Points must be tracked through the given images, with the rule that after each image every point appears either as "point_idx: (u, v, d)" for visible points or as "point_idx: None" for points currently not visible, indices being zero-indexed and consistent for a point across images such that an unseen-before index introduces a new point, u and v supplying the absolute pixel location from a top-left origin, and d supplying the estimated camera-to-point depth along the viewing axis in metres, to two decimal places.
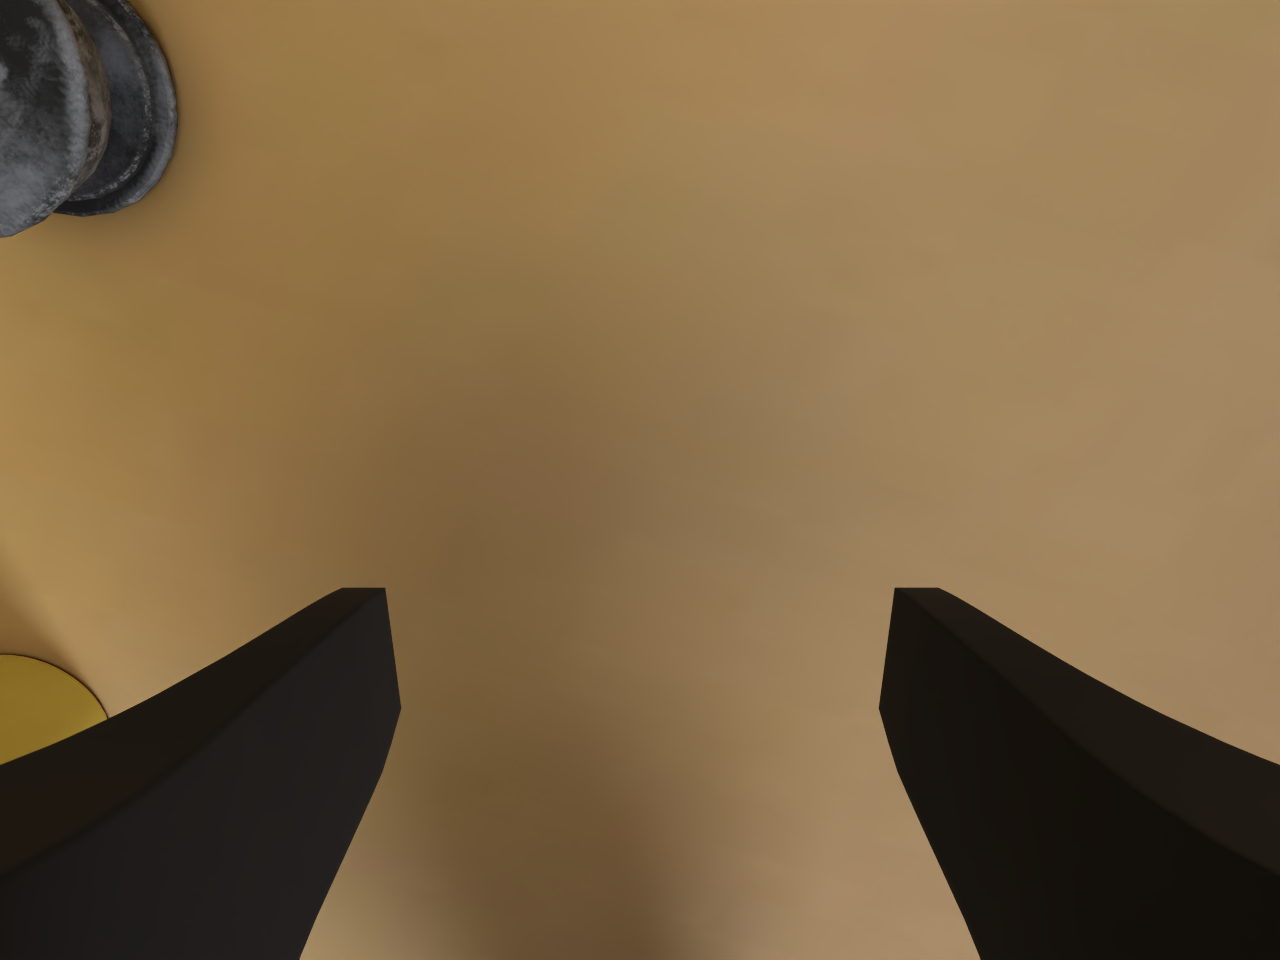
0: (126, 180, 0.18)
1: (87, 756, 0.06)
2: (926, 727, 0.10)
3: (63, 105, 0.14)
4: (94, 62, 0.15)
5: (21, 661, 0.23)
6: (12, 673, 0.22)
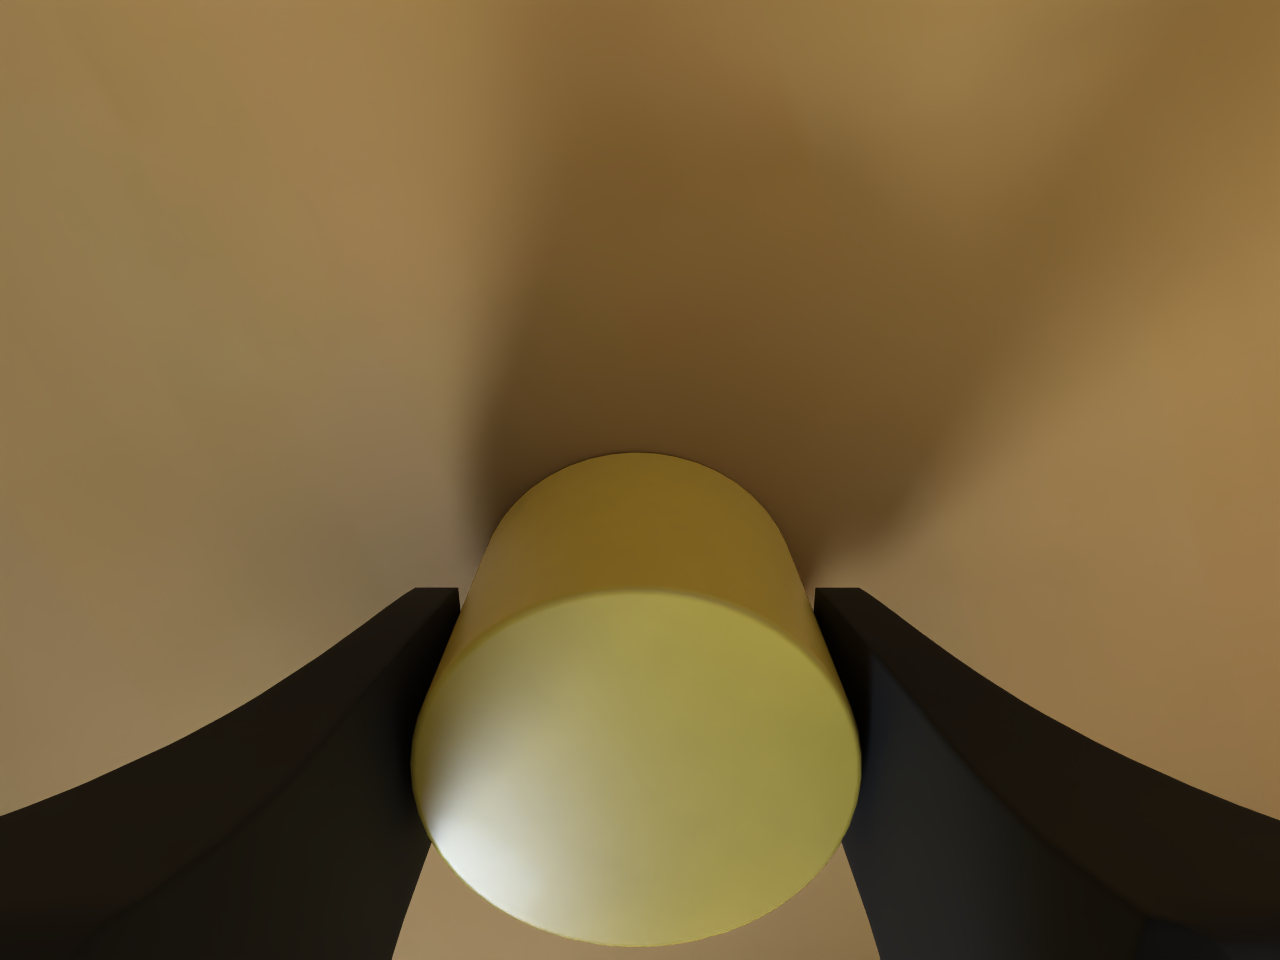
0: None
1: (209, 756, 0.06)
2: None
3: None
4: None
5: (781, 535, 0.12)
6: (791, 559, 0.11)
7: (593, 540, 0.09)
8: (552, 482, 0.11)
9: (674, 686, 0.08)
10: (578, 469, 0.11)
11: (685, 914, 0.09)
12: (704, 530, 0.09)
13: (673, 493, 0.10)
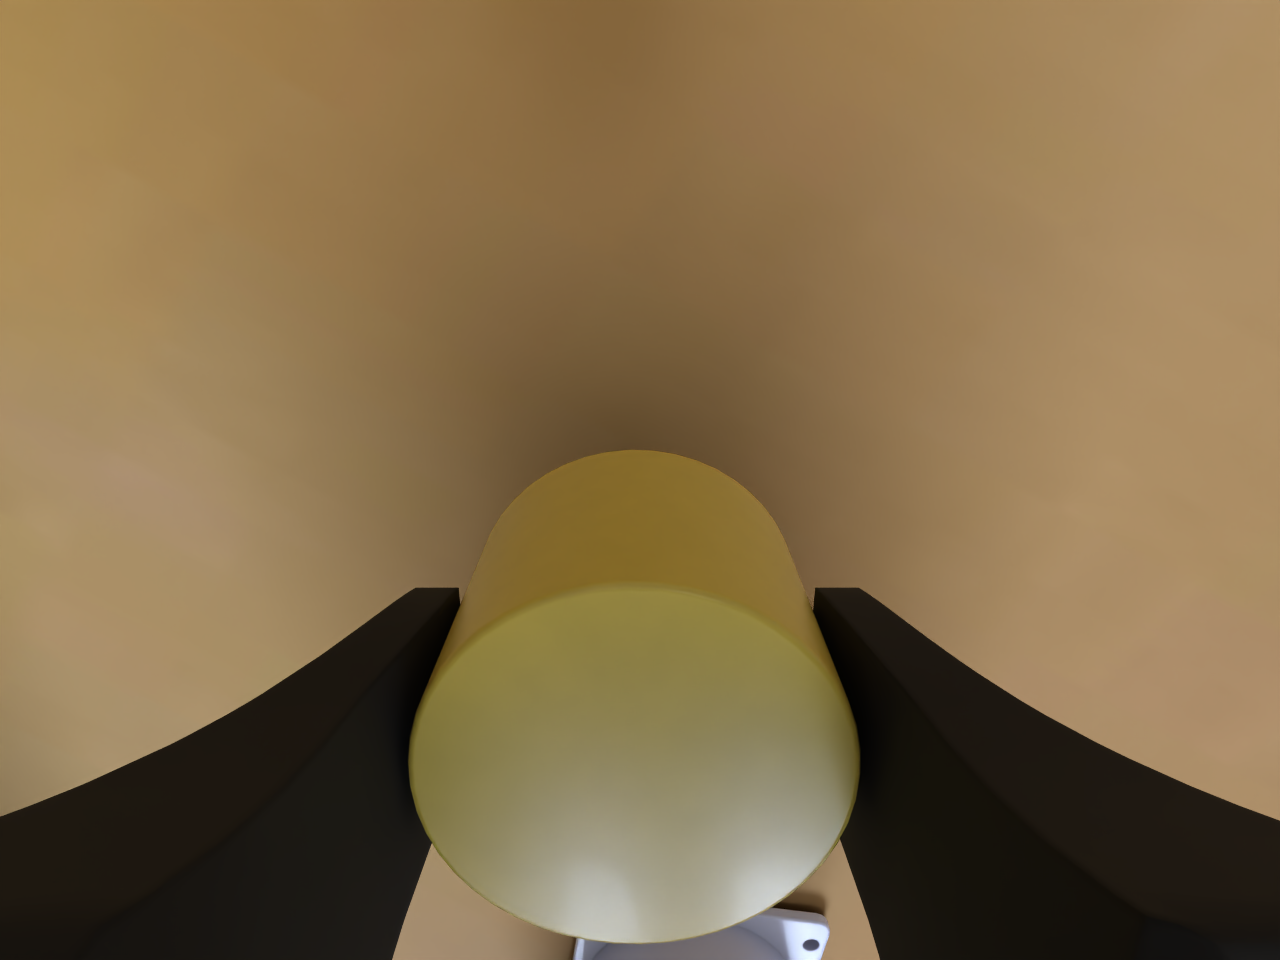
0: None
1: (209, 756, 0.06)
2: None
3: None
4: None
5: (780, 532, 0.12)
6: (790, 555, 0.11)
7: (591, 536, 0.09)
8: (551, 479, 0.11)
9: (672, 683, 0.08)
10: (577, 466, 0.11)
11: (683, 912, 0.09)
12: (702, 527, 0.09)
13: (671, 490, 0.10)
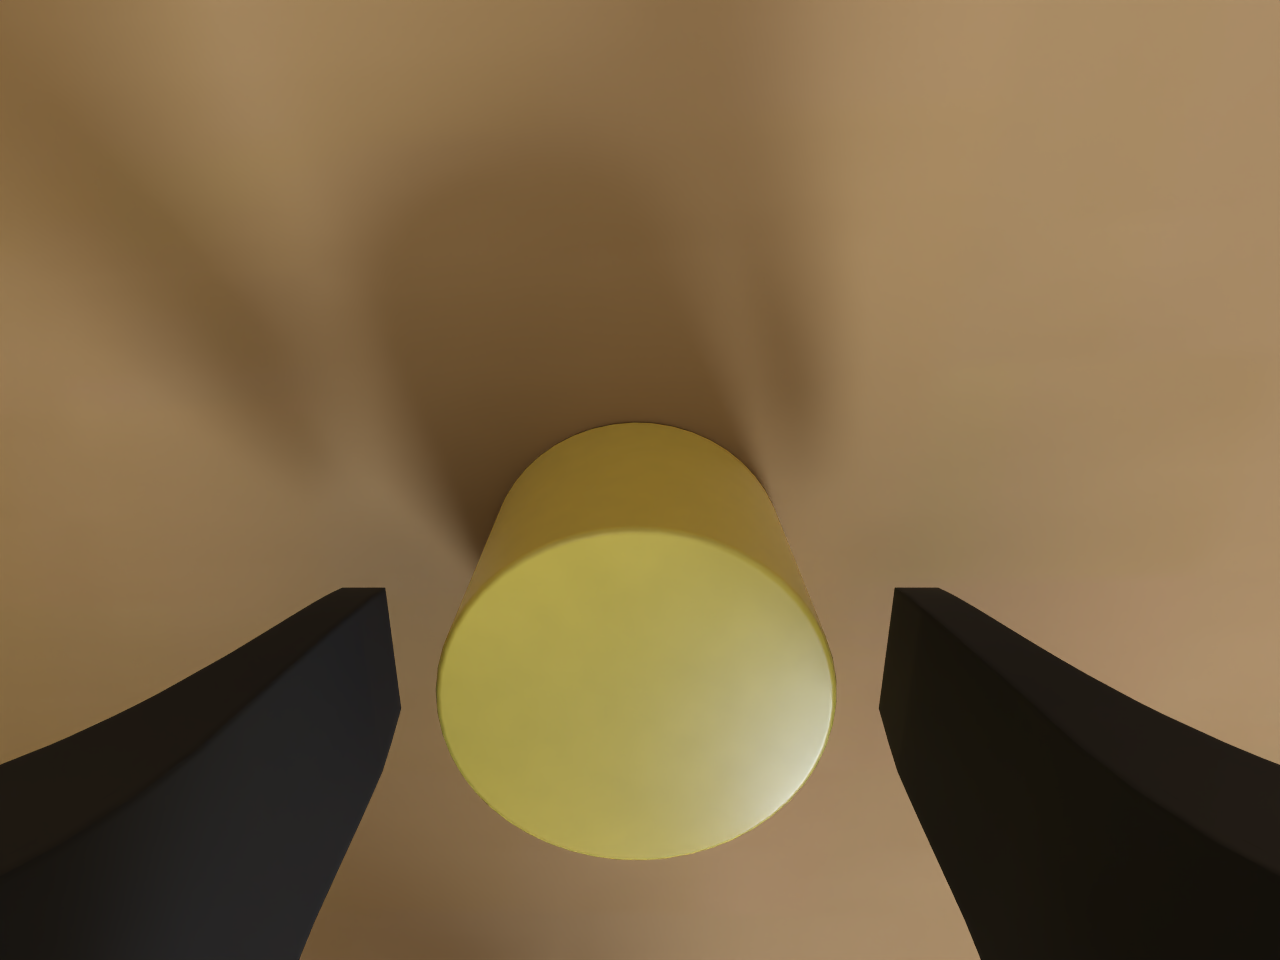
0: None
1: (87, 756, 0.06)
2: (926, 727, 0.10)
3: None
4: None
5: None
6: (777, 518, 0.12)
7: (597, 492, 0.10)
8: (559, 448, 0.12)
9: (669, 618, 0.09)
10: (584, 438, 0.12)
11: (679, 829, 0.10)
12: (697, 486, 0.10)
13: (669, 455, 0.11)
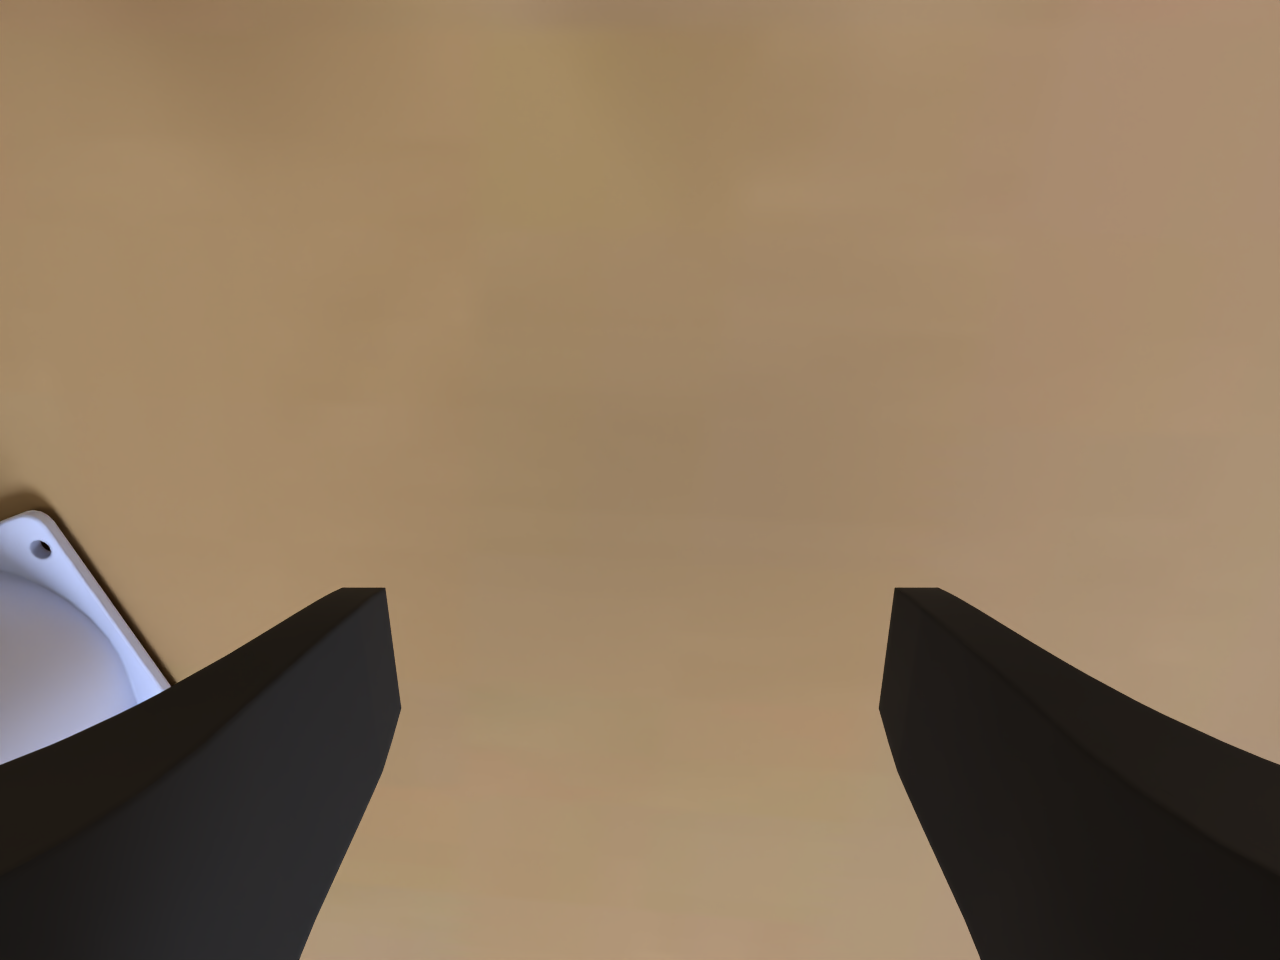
0: None
1: (87, 756, 0.06)
2: (926, 727, 0.10)
3: None
4: None
5: None
6: None
7: None
8: None
9: None
10: None
11: None
12: None
13: None
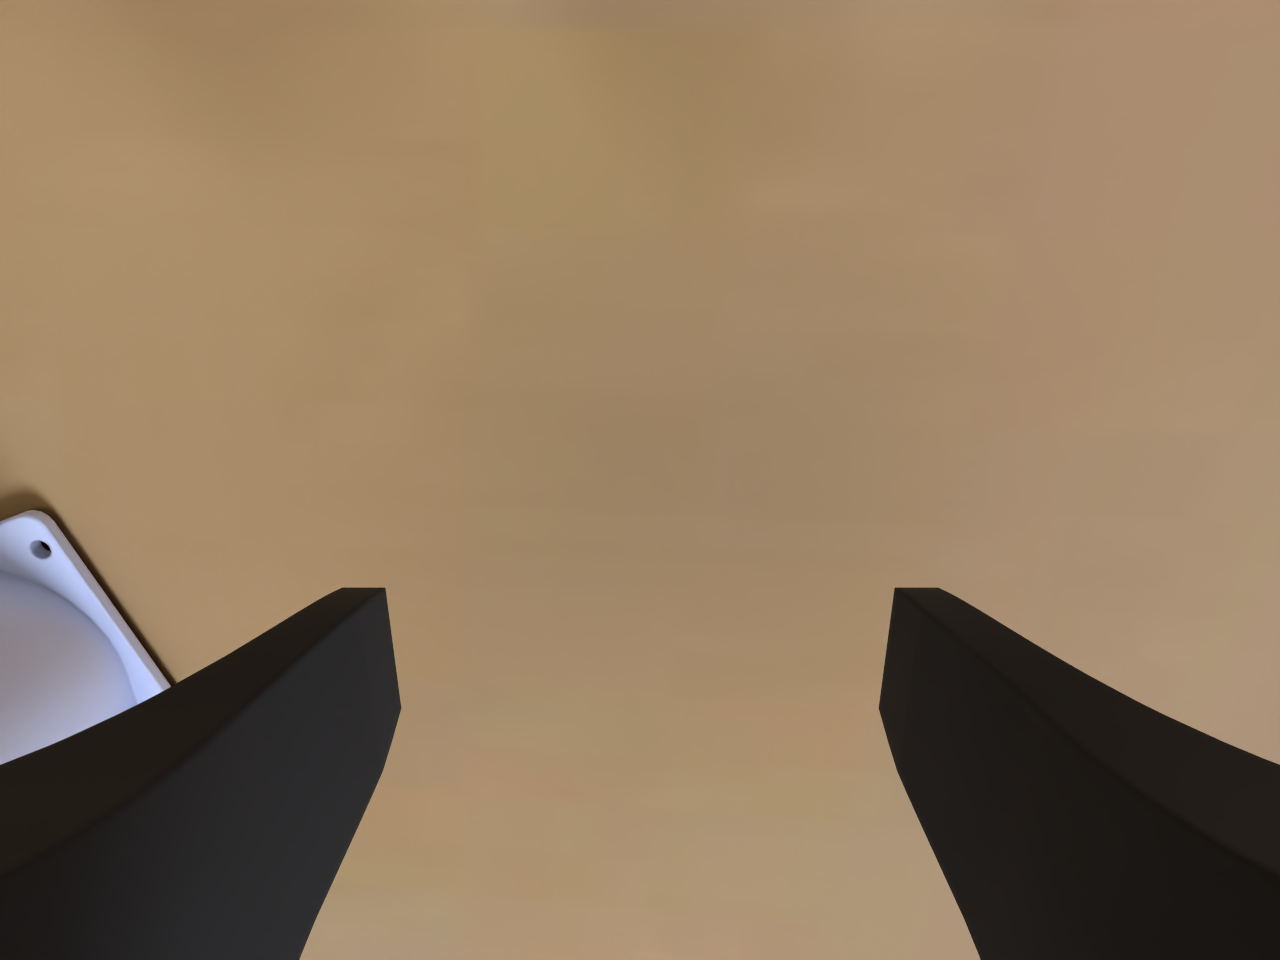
0: None
1: (87, 756, 0.06)
2: (926, 727, 0.10)
3: None
4: None
5: None
6: None
7: None
8: None
9: None
10: None
11: None
12: None
13: None
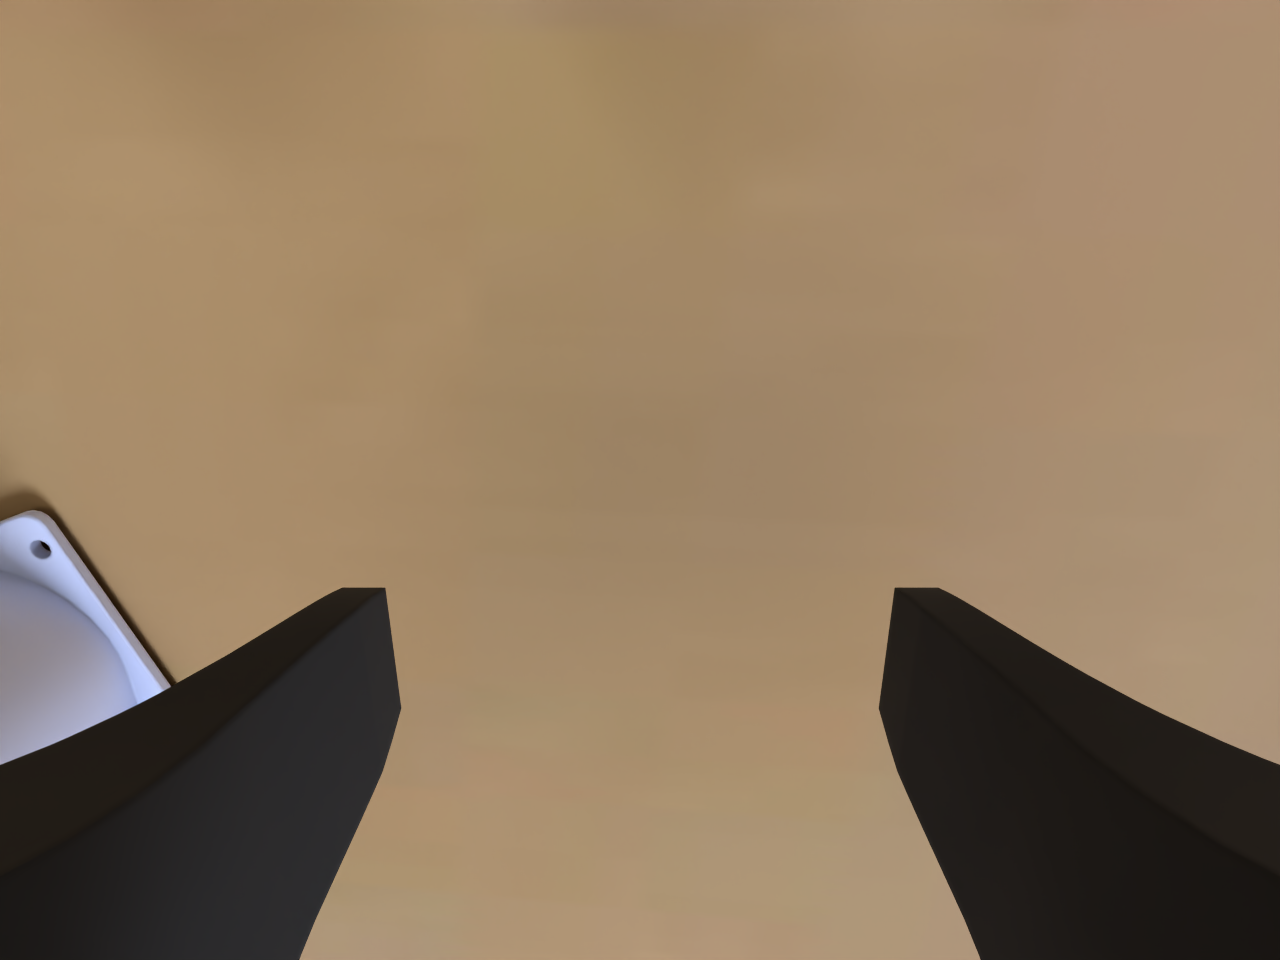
0: None
1: (87, 756, 0.06)
2: (926, 727, 0.10)
3: None
4: None
5: None
6: None
7: None
8: None
9: None
10: None
11: None
12: None
13: None
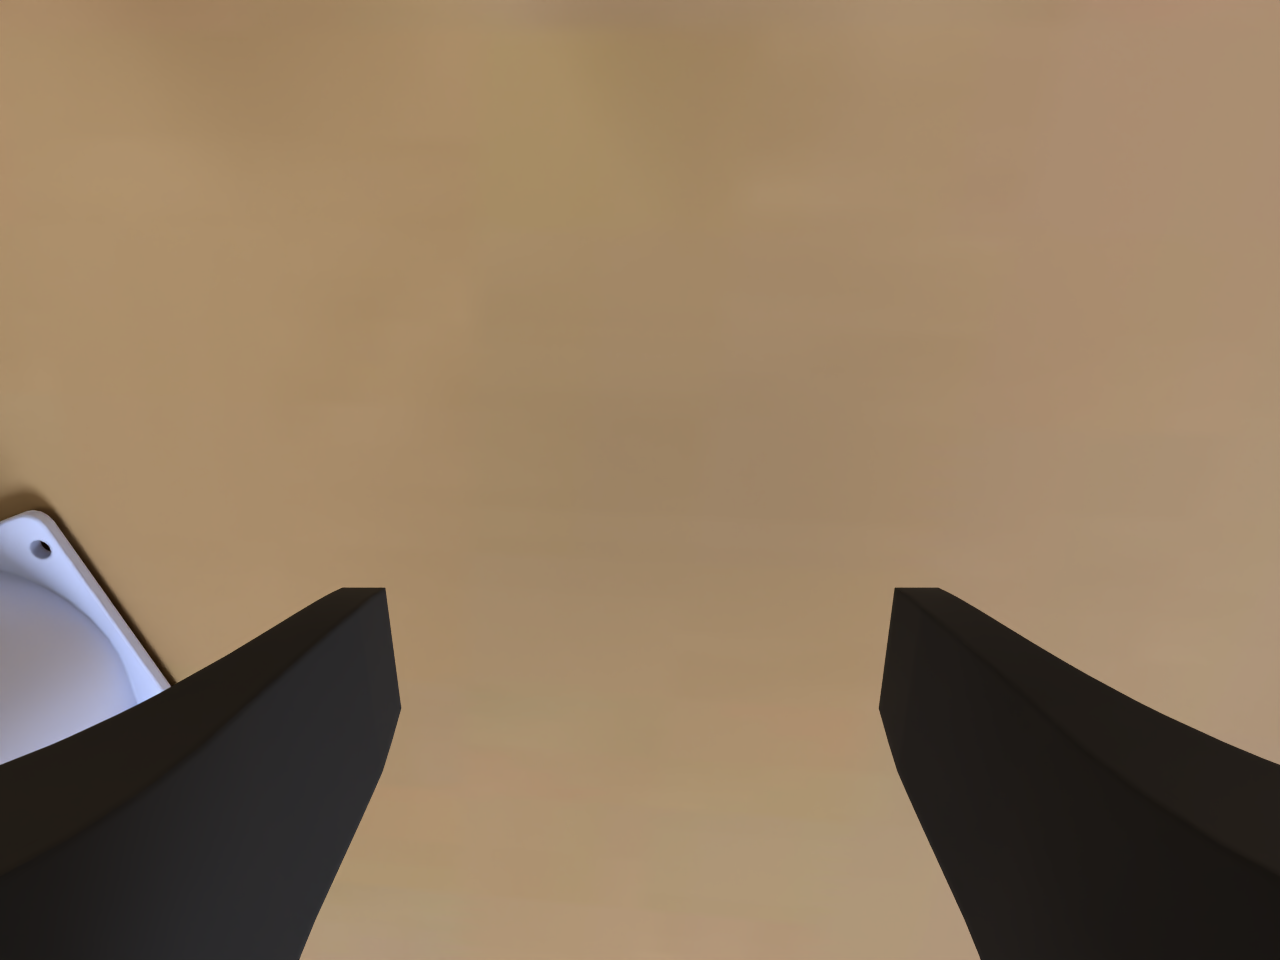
0: None
1: (87, 756, 0.06)
2: (926, 727, 0.10)
3: None
4: None
5: None
6: None
7: None
8: None
9: None
10: None
11: None
12: None
13: None
